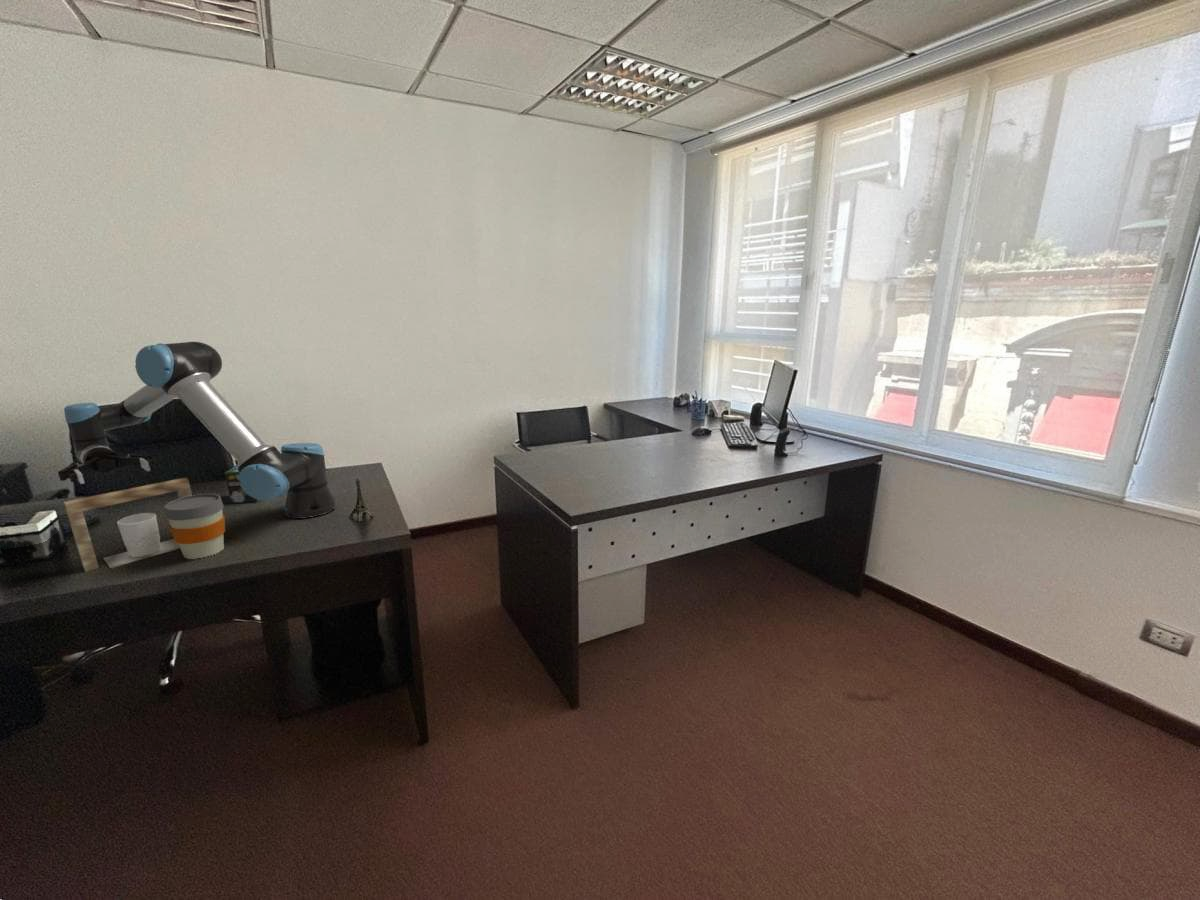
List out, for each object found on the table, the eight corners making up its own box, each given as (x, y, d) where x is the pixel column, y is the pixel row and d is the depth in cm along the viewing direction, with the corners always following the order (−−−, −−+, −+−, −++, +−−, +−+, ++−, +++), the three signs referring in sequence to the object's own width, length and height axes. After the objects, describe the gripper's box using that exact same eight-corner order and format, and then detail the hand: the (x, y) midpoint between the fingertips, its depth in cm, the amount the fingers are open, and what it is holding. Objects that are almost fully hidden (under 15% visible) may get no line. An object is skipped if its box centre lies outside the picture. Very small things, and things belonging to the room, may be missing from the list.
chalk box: (271, 493, 183) (264, 454, 179) (258, 502, 175) (250, 462, 171) (244, 494, 182) (237, 455, 178) (229, 503, 174) (221, 462, 169)
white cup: (169, 548, 141) (161, 515, 138) (135, 561, 134) (126, 526, 131) (154, 542, 144) (146, 510, 141) (120, 554, 137) (110, 520, 134)
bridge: (195, 533, 151) (182, 475, 145) (204, 541, 146) (191, 481, 141) (81, 565, 132) (62, 499, 127) (87, 574, 127) (67, 507, 122)
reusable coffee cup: (168, 566, 132) (155, 513, 128) (183, 545, 143) (172, 496, 139) (225, 557, 137) (214, 506, 133) (236, 538, 148) (227, 491, 144)
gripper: (156, 461, 162) (175, 473, 149) (43, 481, 143) (55, 498, 130) (150, 438, 160) (169, 449, 147) (35, 456, 141) (46, 470, 128)
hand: (115, 472), depth 139 cm, fingers open, 13 cm apart
